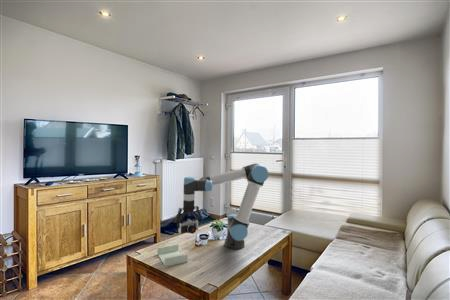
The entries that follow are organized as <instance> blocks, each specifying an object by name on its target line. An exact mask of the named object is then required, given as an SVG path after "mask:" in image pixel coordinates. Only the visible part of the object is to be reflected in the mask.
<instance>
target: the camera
mask: <svg viewBox="0 0 450 300" xmlns="http://www.w3.org/2000/svg"><path fill="white" fill-rule="evenodd" d="M180 223H181V233H179V234H180V235H185V234H196V231H197V230H196V219H190V218H188V219H187V220H186V221H181V222H180Z"/></svg>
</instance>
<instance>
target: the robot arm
mask: <svg viewBox="0 0 450 300" xmlns="http://www.w3.org/2000/svg"><path fill="white" fill-rule="evenodd" d="M268 178H269V170H268V168H267V167H266V166H265V165H263V164H259V163H251V164H248V165H245V166H242V168H239V169H234V170H230V171H226V172H221V173H217V174H212V175H210V176H202V177H201V178H199V179H197V180H196V178H195V177H194V176H186V177H184V178H183V203H182V206H183V207H178V211H177V214H176V217H175V219H174V223H175V224H177V225H176V226H177V229H178V233H179V234H180V233H181V223H182V222H183V220H184V218H185V217H186V216H187V215H188V214H192V215H193V217H195V221H196V224H195V227H196V231H199V226H200V221H201V220H203V217H202V215H201V211H200V209H199V208H200V207H199V206H198V205H196V206H195V193H196V192H212V190H213V186H217V185H218V186H219V185H223V184H226V183H231V182H234V181H239V180H246V181H247V186H246V188H245V192H244V194H243V197H242V199H241V202H240V205H239V209H238V211H237V213H236V214H235V213H233V214H229V215H227V227H226V229H227V231H226V238H225V240H224V247H226V248H227V249H231V250H240V249H243V248H245V239H246V238H247V236H248V234H249V229H248V228H249V226H250V220H249V219H250V217H251V214H252V210H253V208H254V205H255V202H256V200H257V197H258V194H259V192H260V189H261V187H263V186H264V183H265V181H267V179H268ZM194 210H195V211H196V212H195V211H194ZM196 213H197V214H196Z"/></svg>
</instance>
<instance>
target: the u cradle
mask: <svg viewBox="0 0 450 300" xmlns="http://www.w3.org/2000/svg"><path fill="white" fill-rule="evenodd" d="M157 256H158V258H159V259H160V261H161V263H162V264H163V266H164V267H165V268H167V267H168V268H169V267H172V266H177V265H180V264H181V265H182V264H185V263H188V253H183V254H182V253H181V252H180V251H179V244H178V243H175V244H170V245H169V244H168V245H164V246H163V245H162V246H158V247H157Z"/></svg>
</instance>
